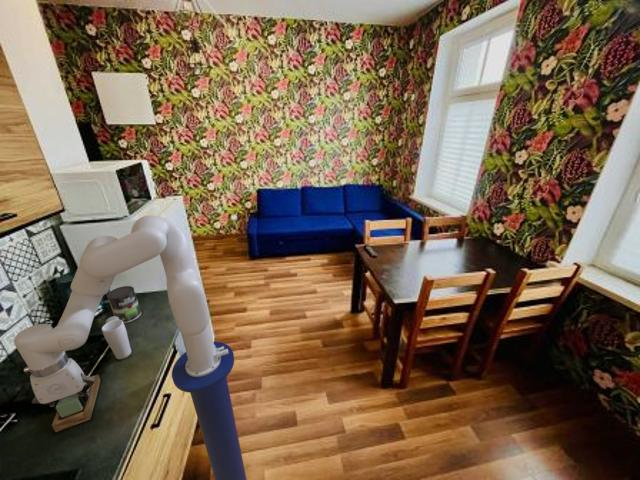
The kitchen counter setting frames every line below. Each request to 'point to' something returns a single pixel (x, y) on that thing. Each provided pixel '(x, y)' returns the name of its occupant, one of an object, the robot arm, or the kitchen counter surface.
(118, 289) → the coffee can
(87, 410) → the pad frame
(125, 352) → the drinking glass
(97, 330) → the kitchen counter surface
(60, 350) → the robot arm
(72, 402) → the sage pad
